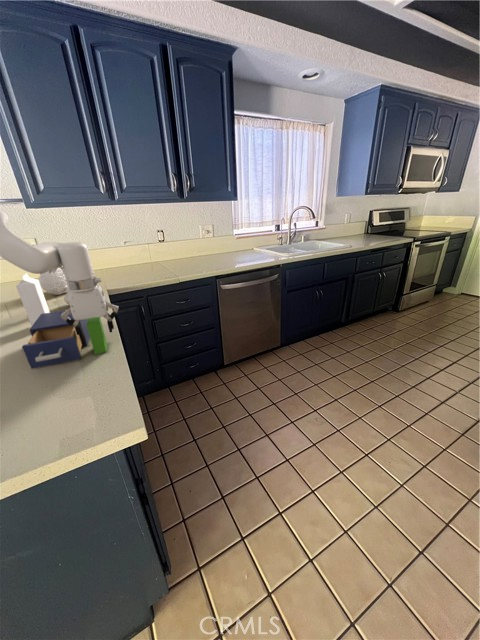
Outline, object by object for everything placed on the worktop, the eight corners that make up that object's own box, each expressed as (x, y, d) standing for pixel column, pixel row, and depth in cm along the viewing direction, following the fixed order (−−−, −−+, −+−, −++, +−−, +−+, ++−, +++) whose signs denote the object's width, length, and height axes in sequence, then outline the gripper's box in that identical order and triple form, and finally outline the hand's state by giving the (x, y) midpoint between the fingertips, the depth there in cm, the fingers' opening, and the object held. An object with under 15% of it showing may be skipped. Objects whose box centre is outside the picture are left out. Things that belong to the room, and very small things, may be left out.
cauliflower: (65, 282, 140) (51, 256, 141) (38, 300, 141) (23, 274, 141) (89, 288, 160) (76, 265, 161) (65, 303, 160) (52, 280, 161)
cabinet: (87, 345, 94) (80, 321, 90) (39, 355, 89) (29, 329, 85) (91, 329, 107) (85, 307, 103) (49, 336, 102) (41, 313, 98)
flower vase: (92, 297, 144) (79, 250, 134) (88, 308, 129) (73, 256, 118) (65, 300, 140) (49, 252, 130) (57, 312, 124) (39, 259, 114)
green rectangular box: (95, 354, 89) (86, 325, 84) (96, 346, 94) (88, 318, 89) (106, 352, 90) (98, 323, 85) (107, 344, 95) (99, 316, 90)
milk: (53, 322, 114) (36, 272, 105) (50, 327, 109) (32, 275, 100) (36, 324, 112) (17, 273, 103) (32, 330, 107) (12, 277, 98)
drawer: (78, 367, 80) (71, 344, 77) (26, 378, 76) (16, 354, 73) (85, 340, 96) (80, 321, 93) (42, 348, 91) (34, 328, 88)
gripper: (113, 277, 88) (124, 324, 95) (53, 284, 82) (69, 333, 89) (112, 283, 82) (124, 333, 89) (47, 291, 76) (65, 343, 83)
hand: (96, 333), depth 89 cm, fingers open, 8 cm apart
